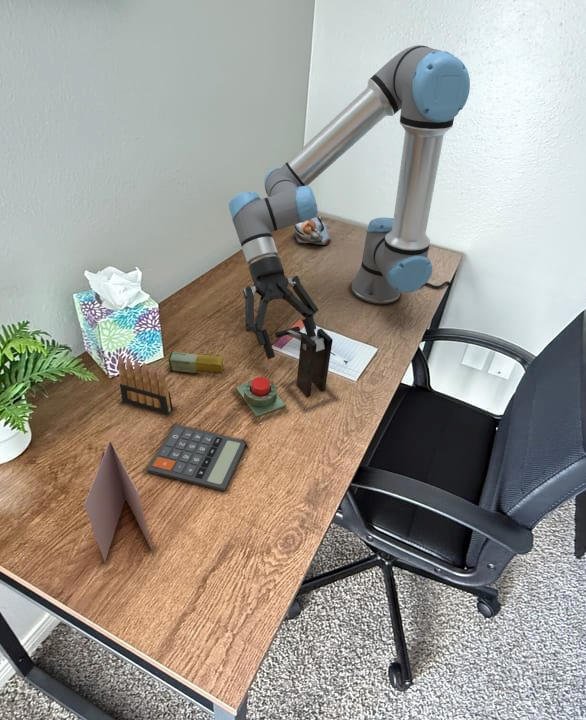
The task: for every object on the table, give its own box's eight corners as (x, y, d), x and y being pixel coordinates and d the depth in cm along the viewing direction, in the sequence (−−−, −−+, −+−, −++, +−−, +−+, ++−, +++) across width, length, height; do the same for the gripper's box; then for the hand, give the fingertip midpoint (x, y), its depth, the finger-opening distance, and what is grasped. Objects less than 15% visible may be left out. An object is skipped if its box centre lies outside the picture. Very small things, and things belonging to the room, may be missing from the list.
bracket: (285, 386, 107) (289, 330, 97) (314, 375, 110) (321, 320, 101) (305, 410, 101) (312, 354, 91) (335, 399, 105) (345, 343, 95)
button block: (235, 393, 103) (235, 379, 101) (263, 383, 106) (263, 370, 104) (256, 422, 97) (256, 408, 94) (285, 411, 100) (286, 397, 98)
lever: (275, 339, 106) (274, 329, 105) (298, 333, 109) (296, 323, 108) (308, 354, 95) (307, 343, 94) (332, 346, 98) (331, 335, 97)
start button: (247, 387, 100) (247, 380, 98) (264, 381, 102) (264, 374, 100) (256, 398, 97) (256, 391, 96) (273, 392, 99) (273, 385, 98)
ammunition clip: (173, 409, 97) (167, 365, 90) (168, 415, 96) (162, 371, 88) (127, 396, 99) (118, 352, 91) (122, 401, 97) (112, 357, 90)
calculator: (175, 423, 93) (246, 440, 91) (175, 426, 94) (246, 443, 92) (146, 468, 84) (224, 488, 82) (146, 471, 84) (224, 491, 83)
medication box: (169, 371, 106) (167, 359, 104) (173, 363, 108) (170, 350, 106) (221, 376, 107) (220, 364, 104) (224, 368, 108) (223, 356, 106)
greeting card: (120, 497, 80) (104, 439, 71) (164, 498, 81) (154, 441, 71) (98, 561, 71) (77, 505, 62) (148, 562, 72) (134, 506, 62)
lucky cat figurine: (337, 244, 169) (335, 218, 156) (309, 260, 167) (305, 235, 154) (314, 218, 175) (311, 191, 162) (287, 233, 173) (282, 207, 160)
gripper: (299, 257, 116) (327, 341, 116) (211, 275, 104) (242, 367, 104) (313, 246, 109) (342, 335, 109) (220, 264, 98) (253, 363, 98)
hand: (293, 351), depth 107 cm, fingers open, 11 cm apart
